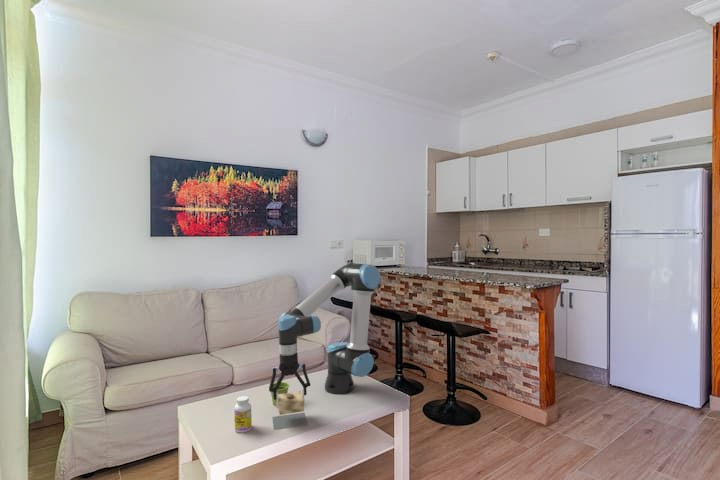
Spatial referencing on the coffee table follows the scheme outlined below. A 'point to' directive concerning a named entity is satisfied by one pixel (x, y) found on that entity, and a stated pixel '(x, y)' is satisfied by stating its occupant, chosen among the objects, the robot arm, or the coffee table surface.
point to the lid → (291, 402)
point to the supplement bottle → (243, 414)
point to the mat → (289, 421)
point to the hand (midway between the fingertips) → (290, 404)
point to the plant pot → (280, 391)
